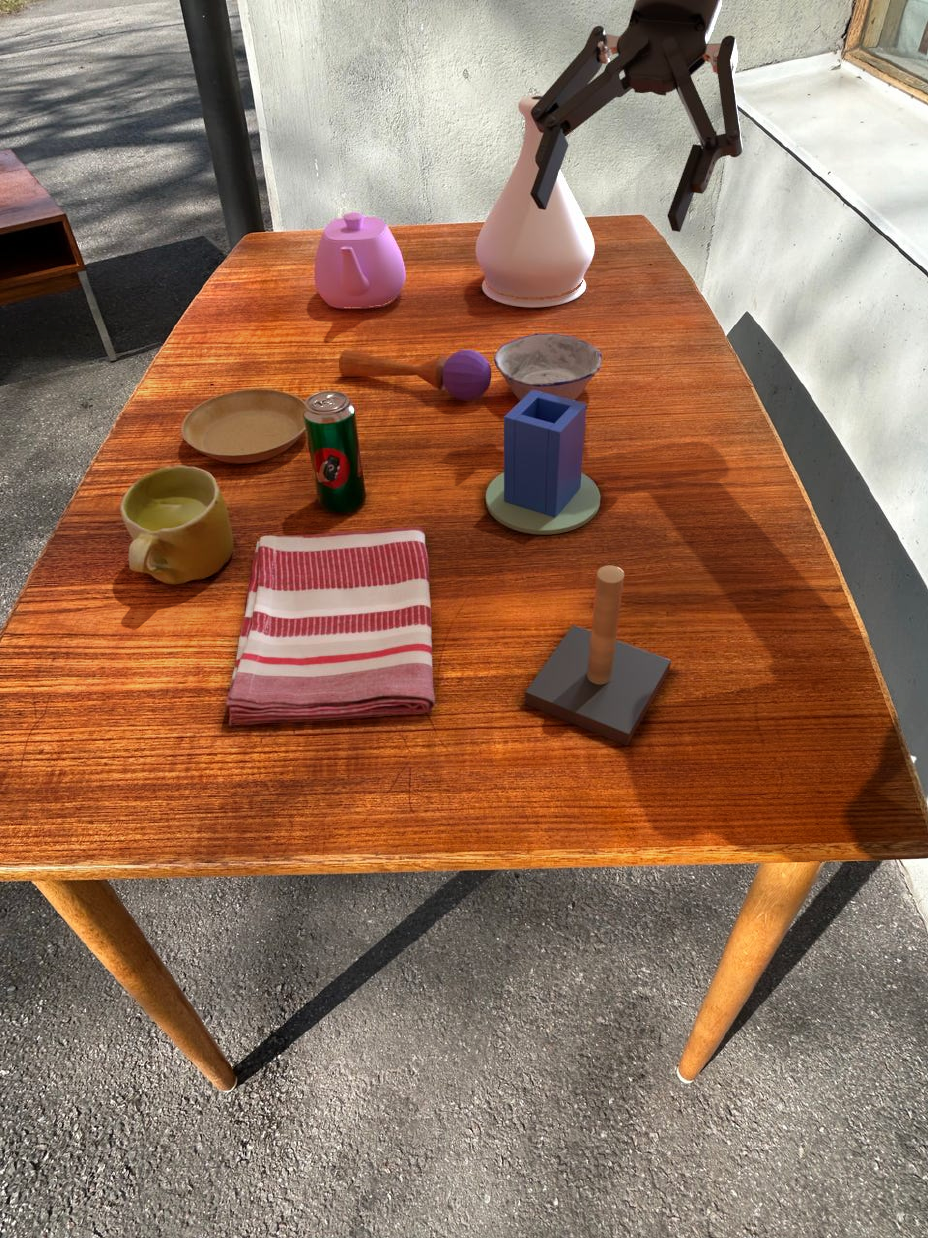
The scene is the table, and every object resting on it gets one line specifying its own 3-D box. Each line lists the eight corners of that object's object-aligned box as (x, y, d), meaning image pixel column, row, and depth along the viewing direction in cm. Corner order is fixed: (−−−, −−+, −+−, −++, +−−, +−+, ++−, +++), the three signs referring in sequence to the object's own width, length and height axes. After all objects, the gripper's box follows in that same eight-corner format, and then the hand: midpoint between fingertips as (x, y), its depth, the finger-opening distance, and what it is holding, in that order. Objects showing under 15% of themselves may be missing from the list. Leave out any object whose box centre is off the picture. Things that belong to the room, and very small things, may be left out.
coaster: (611, 478, 94) (612, 473, 94) (583, 544, 86) (583, 540, 86) (506, 459, 97) (506, 455, 97) (469, 521, 89) (469, 517, 89)
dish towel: (227, 731, 70) (220, 709, 68) (260, 548, 87) (255, 527, 85) (436, 717, 70) (434, 695, 69) (428, 538, 87) (426, 517, 86)
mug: (171, 497, 91) (158, 435, 82) (256, 542, 90) (252, 484, 81) (95, 583, 85) (72, 526, 76) (185, 632, 84) (172, 580, 75)
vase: (609, 300, 126) (626, 106, 109) (495, 317, 124) (493, 120, 106) (568, 257, 139) (577, 76, 122) (463, 271, 136) (457, 88, 119)
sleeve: (530, 472, 94) (532, 389, 87) (580, 487, 92) (586, 403, 85) (503, 501, 91) (503, 416, 84) (555, 517, 88) (560, 432, 81)
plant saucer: (300, 397, 109) (297, 378, 107) (325, 458, 99) (322, 438, 97) (181, 420, 106) (175, 401, 104) (193, 485, 95) (187, 465, 94)
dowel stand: (571, 636, 77) (580, 523, 68) (669, 672, 73) (691, 557, 65) (524, 704, 71) (527, 590, 63) (627, 746, 68) (645, 632, 59)
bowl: (561, 357, 114) (563, 322, 111) (619, 399, 106) (623, 363, 103) (475, 383, 110) (475, 347, 107) (529, 429, 102) (530, 392, 98)
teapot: (325, 274, 137) (314, 195, 129) (409, 271, 136) (403, 192, 128) (308, 331, 122) (294, 246, 114) (403, 328, 122) (396, 242, 114)
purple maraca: (355, 334, 112) (498, 346, 105) (359, 379, 115) (499, 394, 108) (331, 345, 108) (479, 359, 101) (336, 392, 111) (480, 409, 104)
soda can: (374, 505, 92) (362, 404, 83) (331, 522, 90) (314, 420, 82) (353, 483, 95) (339, 383, 87) (311, 498, 93) (292, 397, 85)
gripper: (823, 26, 78) (739, 254, 79) (570, 9, 88) (499, 213, 89) (823, -40, 71) (731, 211, 72) (548, -50, 81) (472, 172, 82)
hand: (603, 212), depth 80 cm, fingers open, 13 cm apart
